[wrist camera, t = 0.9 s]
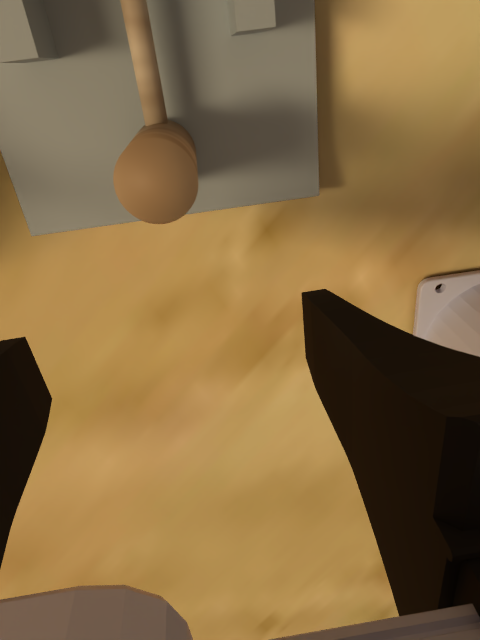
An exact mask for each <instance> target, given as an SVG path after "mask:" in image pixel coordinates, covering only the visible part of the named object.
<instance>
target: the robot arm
mask: <svg viewBox="0 0 480 640" xmlns="http://www.w3.org/2000/svg"><path fill="white" fill-rule="evenodd" d="M439 284H442V285H441V287H440V288H439V289H437V290H435V288H436V286H437V285H439ZM302 305H303V321H304V336H305V352H306V359H307V363H308V366H309V369H310V373H311V376H312V379H313V382H314V385H315V388H316V390H317V393H318V395H319V397H320V399H321V401H322V404H323V406H324V408H325V410H326V412H327V414H328V416H329V419H330V421H331V423H332V425H333V427H334V429H335V431H336V433H337V436H338V438H339V440H340V442H341V444H342V446H343V448H344V450H345V453H346V455H347V457H348V460H349V462H350V464H351V467H352V469H353V472H354V475H355V478H356V481H357V484H358V487H359V490H360V493H361V496H362V498H363V501H364V504H365V507H366V510H367V513H368V517H369V520H370V523H371V526H372V529H373V532H374V535H375V538H376V541H377V544H378V547H379V551H380V554H381V557H382V560H383V564H384V567H385V570H386V573H387V576H388V580H389V583H390V586H391V589H392V593H393V596H394V600H395V603H396V606H397V610H398V613H399V617H393V618H388V619H382V620H377V621H371V622H365V623H360V624H354V625H349V626H343V627H338V628H332V629H326V630H321V631H315V632H310V633H304V634H298V635H293V636H287V637H282V638H276V639H270V640H480V270H478V271H471V272H464V273H457V274H450V275H444V276H437V277H430V278H426V279H424V280H422V281H421V282H420V283H419V285H418V288H417V298H416V309H415V319H414V330H413V335H412V334H409V333H407V332H405V331H402V330H400V329H398V328H396V327H394V326H392V325H390V324H388V323H385V322H383V321H382V320H380V319H378V318H376V317H374V316H372V315H370V314H368V313H366V312H365V311H363V310H361V309H359V308H358V307H356V306H354V305H352V304H351V303H349V302H347V301H345V300H344V299H342V298H340V297H339V296H337V295H335V294H334V293H332V292H330V291H328V290H326V289H322V290H315V291H309V292H303V293H302ZM51 402H52V397H51V395H50V393H49V390H48V388H47V386H46V384H45V381H44V379H43V377H42V374H41V372H40V370H39V368H38V365H37V363H36V361H35V358H34V356H33V354H32V351H31V349H30V347H29V345H28V342H27V340H26V338H25V337H21V338H15V339H9V340H3V341H0V568H1V564H2V560H3V556H4V552H5V548H6V544H7V540H8V536H9V532H10V528H11V525H12V522H13V519H14V516H15V513H16V510H17V507H18V504H19V502H20V499H21V496H22V494H23V491H24V489H25V486H26V483H27V481H28V478H29V475H30V473H31V470H32V467H33V465H34V462H35V459H36V457H37V454H38V451H39V449H40V446H41V443H42V440H43V437H44V435H45V431H46V427H47V423H48V418H49V413H50V407H51ZM0 640H193V638H192V635H191V633H190V630H189V627H188V624H187V622H186V621H185V620H184V619H183V618H182V617H181V616H180V615H179V614H178V613H177V612H176V611H175V610H174V608H173V607H172V606H171V605H170V604H169V603H168V602H167V601H166V600H165V599H163V598H162V597H161V596H159V595H155V594H152V593H149V592H146V591H143V590H139V589H136V588H133V587H130V586H126V585H96V586H77V587H71V588H65V589H59V590H54V591H48V592H42V593H36V594H31V595H25V596H19V597H14V598H8V599H2V600H0Z"/></svg>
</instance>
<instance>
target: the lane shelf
mask: <svg viewBox="0 0 480 640" xmlns="http://www.w3.org/2000/svg"><path fill="white" fill-rule="evenodd" d="M146 1H147V7H148V12H149V18H150V23H151V29H152V35H153V40H154V46H155V51H156V57H157V63H158V68H159V74H160V79H161V85H162V91H163V96H164V102H165V107H166V113H167V119H168V120H171V121H174V122H176V123H178V124H180V125H181V126H183V127H184V128H185V129H186V130H187V131H188V133H189V134H190V135H191V137H192V139H193V141H194V144H195V148H196V158H197V171H198V193H197V197H196V199H195V202H194V204H193V205H192V207H191V208H190V210H189V211H188V212H187V213H186V214H192V213H200V212H207V211H214V210H221V209H228V208H235V207H242V206H249V205H256V204H263V203H271V202H278V201H285V200H292V199H299V198H306V197H313V196H319V162H318V122H317V82H316V42H315V2H314V0H146ZM144 125H145V121H144V116H143V111H142V106H141V101H140V96H139V91H138V86H137V81H136V76H135V72H134V67H133V62H132V57H131V52H130V47H129V42H128V37H127V32H126V27H125V22H124V17H123V12H122V7H121V2H120V0H0V150H1V153H2V156H3V158H4V161H5V164H6V167H7V170H8V172H9V175H10V178H11V181H12V183H13V186H14V189H15V192H16V194H17V197H18V200H19V203H20V205H21V208H22V211H23V214H24V217H25V219H26V222H27V225H28V228H29V230H30V233H31V236H36V235H43V234H50V233H58V232H65V231H72V230H79V229H86V228H93V227H100V226H107V225H114V224H121V223H129V222H136V221H142V220H140V219H138V218H136V217H134V216H133V215H132V214H130V213H129V212H128V211H127V210H126V209H125V208H124V207H123V205H122V204H121V202H120V201H119V199H118V197H117V195H116V192H115V189H114V183H113V174H114V168H115V165H116V162H117V160H118V158H119V156H120V155H121V154H122V152H123V151H124V150H125V148H126V147H127V146H128V144H129V143H130V142H131V141H132V139H133V138H134V137H135V135H136V134H137V133H138V131H139V130H140V129H141V128H142V127H143V126H144Z"/></svg>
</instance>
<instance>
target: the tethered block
mask: <svg viewBox="0 0 480 640" xmlns="http://www.w3.org/2000/svg"><path fill="white" fill-rule="evenodd" d="M120 2H121V7H122V12H123V17H124V22H125V27H126V32H127V37H128V42H129V47H130V52H131V57H132V62H133V67H134V72H135V76H136V81H137V86H138V91H139V96H140V101H141V106H142V111H143V116H144V121H145V125H144V126H143V127H142V128H141V129H140V130H139V131H138V133H137V134H136V135H135V137H134V138H133V139H132V141H131V142H130V143H129V144H128V146H127V147H126V148H125V150H124V151H123V152H122V154H121V155H120V156H119V158H118V160H117V162H116V165H115V168H114V174H113V183H114V189H115V192H116V195H117V197H118V199H119V201H120V202H121V204H122V205H123V207H124V208H125V209H126V210H127V211H128V212H129V213H130V214H132V215H133V216H134V217H136V218H138V219H140V220H142V221H144V222H148V223H152V224H165V223H170V222H173V221H175V220H177V219H179V218H181V217H182V216H184V215H185V214H186V213H187V212H188V211H189V210H190V208H191V207H192V205H193V204H194V202H195V199H196V197H197V193H198V171H197V158H196V148H195V144H194V141H193V139H192V137H191V135H190V134H189V133H188V131H187V130H186V129H185V128H184V127H183V126H181V125H180V124H178V123H176V122H174V121H171V120H168V119H167V113H166V107H165V102H164V96H163V91H162V85H161V79H160V74H159V68H158V63H157V57H156V51H155V46H154V40H153V35H152V29H151V23H150V18H149V12H148V7H147V1H146V0H120Z"/></svg>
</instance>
